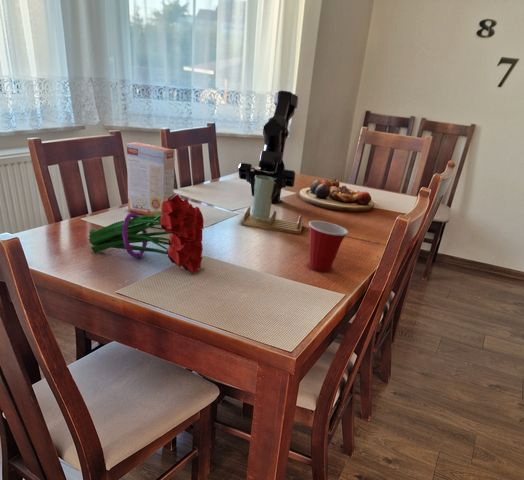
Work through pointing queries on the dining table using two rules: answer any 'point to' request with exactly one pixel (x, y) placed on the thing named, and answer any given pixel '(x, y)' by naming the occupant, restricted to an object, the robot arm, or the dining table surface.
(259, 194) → the tumbler
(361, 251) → the dining table surface
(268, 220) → the drying rack
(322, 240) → the plastic cup
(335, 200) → the wooden plate
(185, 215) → the bouquet
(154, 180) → the cracker box
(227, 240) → the dining table surface
